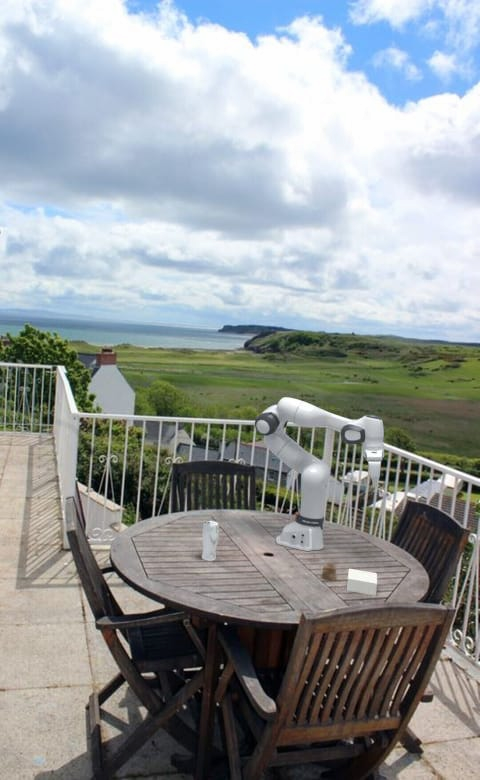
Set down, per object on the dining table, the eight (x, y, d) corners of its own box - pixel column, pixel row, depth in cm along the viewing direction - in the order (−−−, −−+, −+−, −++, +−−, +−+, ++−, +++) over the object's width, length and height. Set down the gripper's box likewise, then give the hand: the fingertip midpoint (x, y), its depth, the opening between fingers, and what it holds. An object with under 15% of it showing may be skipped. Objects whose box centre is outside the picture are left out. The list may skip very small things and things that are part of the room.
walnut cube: (321, 579, 226) (323, 567, 226) (322, 574, 231) (324, 562, 231) (334, 581, 225) (335, 569, 225) (335, 576, 230) (336, 564, 230)
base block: (346, 591, 217) (347, 578, 217) (347, 580, 228) (348, 568, 228) (375, 596, 215) (377, 583, 215) (375, 585, 226) (376, 573, 225)
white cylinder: (219, 557, 239) (222, 523, 238) (212, 562, 233) (215, 527, 232) (205, 554, 242) (208, 519, 241) (197, 558, 236) (200, 523, 235)
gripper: (365, 448, 255) (366, 478, 256) (366, 457, 235) (367, 490, 236) (379, 448, 253) (380, 478, 254) (382, 457, 233) (383, 490, 234)
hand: (374, 484), depth 245 cm, fingers open, 8 cm apart
